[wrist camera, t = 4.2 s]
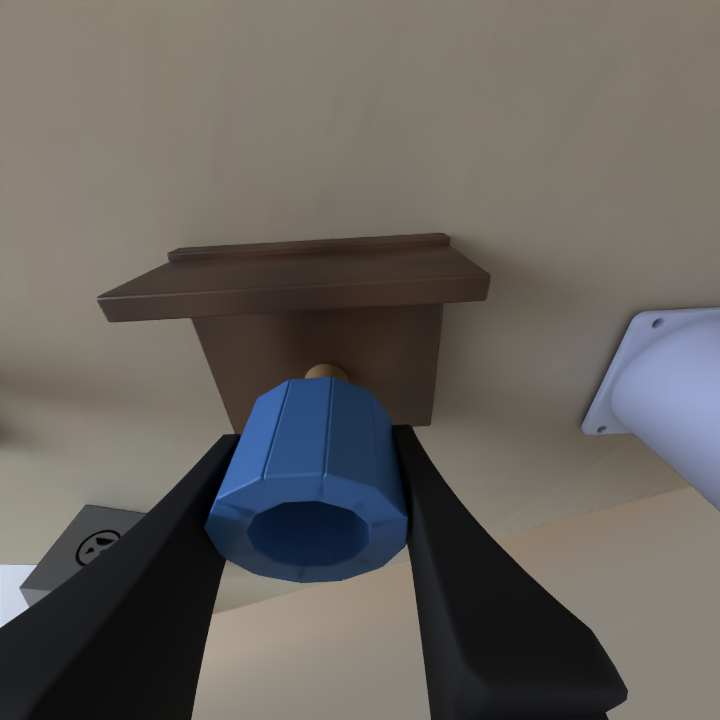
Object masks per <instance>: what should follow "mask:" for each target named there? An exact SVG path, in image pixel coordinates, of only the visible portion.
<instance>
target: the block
mask: <svg viewBox="0 0 720 720" xmlns="http://www.w3.org/2000/svg"><path fill="white" fill-rule="evenodd" d="M36 566H37V565H9V564H0V627H2V626H3V625H5V624H6V623H8V622H9V621H11V620H12V619H14V618H15V617H17V616H18V615H19V614H21V613H22V612H24V611H25V610H26V609H28V608H29V606H28V604H27V602H26V600H25V599H24V597H23V595H22V593H21V591H20V589H19V587H20V586H21V585H22V584H23V582H24V581H25V580H26V579H27V577H28V576H29V575H30V573H31V572H32V571H33V570H34V568H35V567H36Z"/></svg>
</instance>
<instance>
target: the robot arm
mask: <svg viewBox="0 0 720 720" xmlns="http://www.w3.org/2000/svg"><path fill="white" fill-rule="evenodd" d="M655 320H656V321H655ZM654 321H655V322H654ZM653 322H654V323H653ZM392 430H393V436H394V442H395V448H396V453H397V458H398V462H399V466H400V472H401V477H402V483H403V489H404V495H405V501H406V507H407V513H408V530H407V545H408V550H409V555H410V561H411V566H412V573H413V580H414V588H415V594H416V602H417V610H418V617H419V625H420V633H421V640H422V649H423V657H424V664H425V673H426V681H427V689H428V698H429V706H430V714H431V720H609V719H608V717H607V715H606V713H605V712H607V711H609V710H611V709H612V708H614V707H616V706H618V705H620V704H621V703H623V702H624V701H625V700H627V693H628V690H627V688H626V686H625V684H624V682H623V680H622V679H621V677H620V675H619V673H618V671H617V669H616V668H615V666H614V664H613V663H612V661H611V659H610V658H609V656H608V655H607V653H606V651H605V650H604V648H603V647H602V645H601V644H600V642H599V641H598V639H597V638H596V636H595V634H594V633H593V632H592V630H591V629H590V628H589V627H587V626H586V625H585V624H584V623H583V622H582V621H580V620H579V619H578V618H577V617H576V616H575V615H573V614H572V613H571V612H570V611H569V610H568V609H566V608H565V607H564V606H563V605H562V604H561V603H559V602H558V601H557V600H556V599H555V598H554V597H553V596H552V595H551V594H549V593H548V592H547V591H546V590H545V589H544V588H543V587H542V586H541V585H540V584H538V582H536V581H535V580H534V579H533V578H532V577H531V576H530V575H529V574H528V573H527V572H526V571H524V570H523V569H522V567H521V566H520V565H519V564H518V563H516V561H515V560H514V559H513V558H512V557H511V556H509V554H508V553H507V552H506V551H505V550H504V549H503V548H501V546H500V545H499V544H498V543H497V542H496V541H495V540H494V539H493V538H492V537H491V536H490V535H489V534H488V533H487V532H486V530H485V529H484V528H483V527H482V526H481V525H480V524H479V523H478V522H477V520H476V519H475V518H474V517H473V516H472V515H471V513H470V512H469V511H468V510H467V509H466V508H465V506H464V505H463V504H462V503H461V501H460V500H459V499H458V498H457V496H456V495H455V494H454V492H453V491H452V490H451V488H450V487H449V486H448V484H447V483H446V482H445V480H444V479H443V478H442V476H441V475H440V473H439V472H438V470H437V469H436V467H435V466H434V464H433V463H432V461H431V460H430V458H429V457H428V455H427V454H426V452H425V450H424V449H423V447H422V445H421V443H420V442H419V440H418V438H417V436H416V434H415V432H414V430H413V428H412V426H410V425H409V424H404V425H392ZM581 430H582V431H583V432H584V433H585V434H586V435H603V434H620V433H634V434H635V435H636V436H637V437H638V438H639V439H641V440H642V441H643V442H644V443H645V444H646V445H647V446H648V447H649V448H650V449H652V450H653V451H654V452H655V453H656V454H657V455H658V456H659V457H660V458H662V459H663V460H664V461H665V462H666V463H667V464H668V465H669V466H670V467H671V468H673V469H674V470H675V471H676V472H677V473H678V474H679V475H680V476H681V477H682V478H684V479H685V480H686V481H687V482H688V483H689V484H690V485H691V486H692V487H693V488H695V489H696V490H697V491H698V492H699V493H700V494H701V495H702V496H703V497H704V498H706V499H707V500H708V501H709V502H710V503H711V504H712V505H713V506H714V507H716V508H717V509H718V510H719V511H720V307H709V308H692V309H675V310H658V311H645V312H641V313H639V314H637V315H636V316H635V317H634V318H633V320H632V321H631V323H630V325H629V327H628V329H627V332H626V334H625V336H624V338H623V340H622V342H621V344H620V346H619V348H618V350H617V352H616V355H615V357H614V359H613V361H612V363H611V365H610V367H609V369H608V371H607V373H606V376H605V378H604V380H603V382H602V384H601V386H600V388H599V390H598V392H597V394H596V397H595V399H594V401H593V403H592V405H591V407H590V409H589V411H588V413H587V415H586V418H585V420H584V422H583V424H582V426H581ZM240 438H241V436H240V434H228V435H223V436H222V437H221V438H220V439H219V440H218V441H217V442H216V443H215V444H214V445H213V446H212V447H211V449H210V450H209V451H208V452H207V453H206V454H205V455H204V456H203V457H202V458H201V459H200V461H199V462H198V463H197V464H196V465H195V466H194V467H193V468H192V469H191V470H190V471H189V472H188V473H187V474H186V475H185V476H184V477H183V479H182V480H181V481H180V482H179V483H178V484H177V485H176V486H175V487H174V488H173V489H172V490H171V491H170V492H169V493H168V494H167V495H166V496H165V497H164V498H163V499H162V500H161V501H160V502H159V503H158V504H157V505H156V506H155V507H154V508H153V509H151V510H150V511H149V512H148V513H147V514H146V515H145V516H144V517H143V518H142V519H141V520H140V521H139V522H137V523H136V524H135V525H134V526H133V527H132V528H131V529H130V530H128V531H127V532H126V533H125V534H124V535H123V536H121V537H120V538H119V539H118V540H117V541H116V542H114V543H113V544H112V545H111V546H110V547H108V548H107V549H106V550H105V551H103V552H102V553H101V554H100V555H98V556H97V557H96V558H95V559H93V560H92V561H91V562H90V563H88V564H87V565H86V566H84V567H83V568H82V569H81V570H79V571H78V572H77V573H76V574H74V575H73V576H72V577H70V578H69V579H68V580H67V581H65V582H64V583H62V584H61V585H60V586H58V587H57V588H56V589H54V590H53V591H52V592H50V593H49V594H48V595H46V596H45V597H43V598H42V599H41V600H39V601H38V602H36V603H35V604H34V605H32V606H31V607H29V608H28V609H26V610H25V611H24V612H22V613H21V614H19V615H18V616H17V617H15V618H14V619H12V620H11V621H9V622H8V623H6V624H5V625H3V626H2V627H0V720H191V717H192V712H193V706H194V700H195V695H196V688H197V684H198V679H199V674H200V669H201V664H202V659H203V654H204V649H205V644H206V639H207V635H208V630H209V626H210V621H211V617H212V613H213V608H214V604H215V600H216V596H217V592H218V588H219V584H220V580H221V576H222V573H223V569H224V566H225V563H226V560H227V559H225V558H223V557H222V555H220V554H219V553H218V551H217V549H216V548H215V546H214V544H213V543H212V541H211V539H210V538H209V536H208V535H207V533H206V531H205V529H204V525H205V523H206V521H207V518H208V516H209V513H210V511H211V508H212V506H213V504H214V501H215V499H216V496H217V494H218V492H219V489H220V487H221V484H222V482H223V480H224V477H225V475H226V472H227V470H228V467H229V465H230V463H231V460H232V458H233V455H234V453H235V451H236V448H237V446H238V443H239V441H240Z"/></svg>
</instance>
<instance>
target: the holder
mask: <svg viewBox="0 0 720 720" xmlns="http://www.w3.org/2000/svg"><path fill="white" fill-rule="evenodd" d="M167 256H168V259H169V262H168V263H166V264H164V265H162V266H160V267H158V268H156V269H154V270H151V271H149V272H147V273H145V274H143V275H141V276H139V277H137V278H135V279H133V280H131V281H129V282H127V283H125V284H123V285H121V286H119V287H116V288H114V289H112V290H110V291H108V292H106V293H104V294H102V295H100V296H98V297H97V298H96V299H97V302H98V304H99V306H100V307H101V309H102V311H103V313H104V315H105V317H106V318H107V320H108V321H109V322H127V321H144V320H161V319H178V318H191V319H192V322H193V325H194V327H195V330H196V332H197V335H198V338H199V340H200V343H201V346H202V348H203V351H204V353H205V356H206V359H207V361H208V364H209V367H210V369H211V372H212V374H213V377H214V380H215V382H216V385H217V388H218V390H219V393H220V395H221V398H222V401H223V403H224V406H225V409H226V411H227V414H228V416H229V419H230V422H231V424H232V427H233V430H234V432H235V434H240V436H242V434H243V431H244V429H245V426H246V424H247V422H248V419H249V417H250V415H251V412H252V410H253V407H254V405H255V403H256V400H257V399H258V398H259V397H260V396H262V395H264V394H265V393H267V392H269V391H270V390H272V389H274V388H276V387H277V386H279V385H281V384H282V383H284V382H286V381H288V380H292V379H305V378H323V377H332V378H333V377H335V378H338V379H340V380H343V381H346V382H348V383H351V384H353V385H356V386H358V387H361V388H363V389H366V390H368V391H370V393H372V394H373V395H374V397H375V398H376V399H377V400H378V402H379V403H380V404H381V405H382V407H383V408H384V409H385V410H386V412H387V413H388V414H389V415H390V417H391V419H392V425H404V424H409V425H410V426H412V427H415V426H430V425H431V417H432V408H433V398H434V389H435V379H436V370H437V361H438V351H439V342H440V332H441V323H442V313H443V304H444V303H452V302H470V301H484V300H486V299H487V295H488V289H489V284H490V278H491V276H490V274H489V273H488V272H486V271H485V270H483V269H482V268H481V267H479V266H478V265H476V264H475V263H474V262H472V261H471V260H469V259H468V258H466V257H465V256H464V255H462V254H461V253H459V252H458V251H457V250H455V249H454V248H452V247H451V246H450V237H449V236H447V235H446V234H444V233H432V234H415V235H398V236H380V237H363V238H346V239H329V240H312V241H294V242H277V243H260V244H243V245H225V246H208V247H191V248H178V249H176V250H174V251H171V252H169V253H167Z"/></svg>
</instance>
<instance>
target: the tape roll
mask: <svg viewBox="0 0 720 720" xmlns="http://www.w3.org/2000/svg"><path fill="white" fill-rule="evenodd" d="M204 529H205V531H206V533H207V535H208V536H209V538H210V539H211V541H212V543H213V544H214V546H215V548H216V549H217V551H218V553H219V554H220V555H222V557H223V558H225V559H227V560H229V561H231V562H233V563H235V564H237V565H238V566H240V567H242V568H244V569H246V570H248V571H250V572H252V573H254V574H257V575H260V576H265V577H271V578H276V579H282V580H287V581H292V582H299V583H311V582H328V581H342V580H343V579H344V580H345V579H348V578H351V577H354V576H357V575H360V574H363V573H366V572H369V571H372V570H375V569H378V568H380V567H383V566H384V565H385V564H386V563H387V562H388V561H390V560H391V559H392V558H393V557H394V556H395V555H396V554H397V553H399V552H400V551H401V550H402V549H403V548H404V547H405V545H406V544H407V530H408V513H407V507H406V501H405V495H404V489H403V483H402V477H401V472H400V466H399V462H398V458H397V453H396V448H395V442H394V436H393V430H392V419H391V417H390V415H389V414H388V413H387V412H386V410H385V409H384V408H383V407H382V405H381V404H380V403H379V402H378V400H377V399H376V398H375V397H374V395H373V394H372V393H370V391H368V390H366V389H363V388H361V387H358V386H356V385H353V384H351V383H348V382H346V381H343V380H340V379H338V378H335V377H333V378H332V377H323V378H305V379H292V380H288V381H286V382H284V383H282V384H281V385H279V386H277V387H276V388H274V389H272V390H270V391H269V392H267V393H265V394H264V395H262V396H260V397H259V398H258V399H257V400H256V403H255V405H254V407H253V410H252V412H251V415H250V417H249V419H248V422H247V424H246V426H245V429H244V431H243V434H242V436H241V438H240V441H239V443H238V446H237V448H236V451H235V453H234V455H233V458H232V460H231V463H230V465H229V467H228V470H227V472H226V475H225V477H224V480H223V482H222V484H221V487H220V489H219V492H218V494H217V496H216V499H215V501H214V504H213V506H212V508H211V511H210V513H209V516H208V518H207V521H206V523H205V525H204Z"/></svg>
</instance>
